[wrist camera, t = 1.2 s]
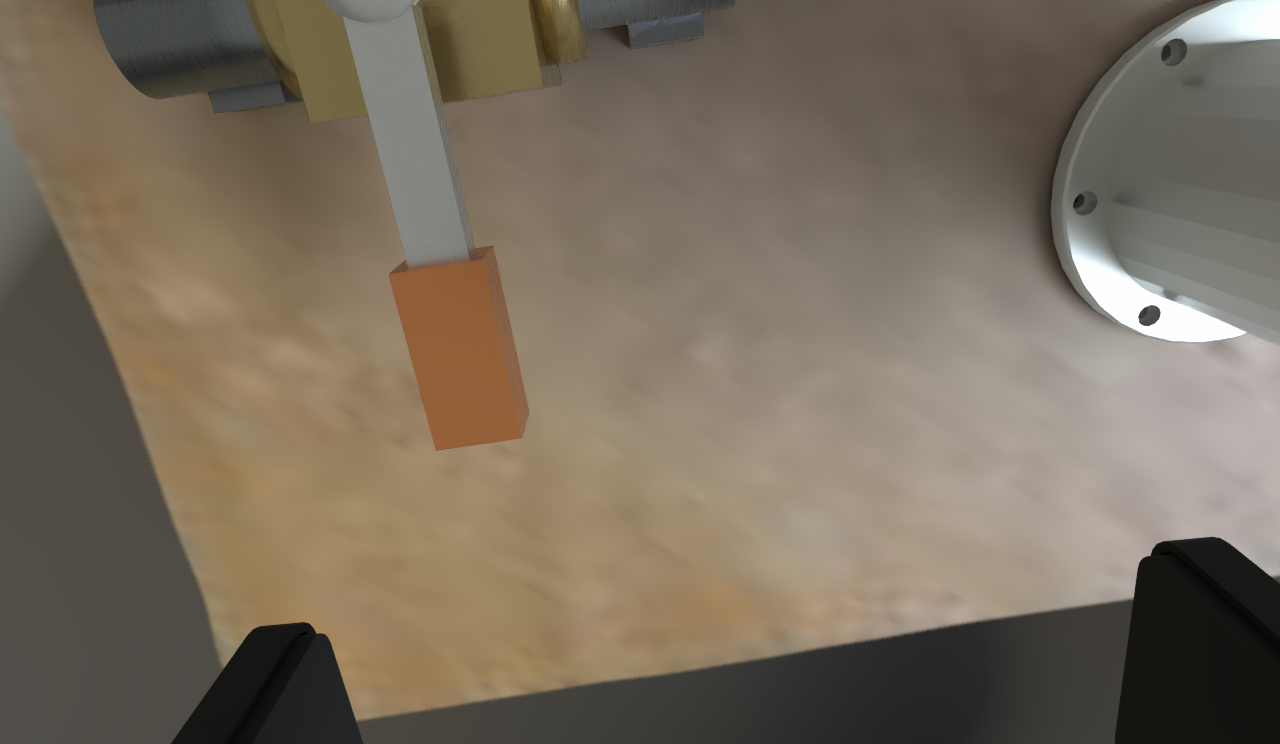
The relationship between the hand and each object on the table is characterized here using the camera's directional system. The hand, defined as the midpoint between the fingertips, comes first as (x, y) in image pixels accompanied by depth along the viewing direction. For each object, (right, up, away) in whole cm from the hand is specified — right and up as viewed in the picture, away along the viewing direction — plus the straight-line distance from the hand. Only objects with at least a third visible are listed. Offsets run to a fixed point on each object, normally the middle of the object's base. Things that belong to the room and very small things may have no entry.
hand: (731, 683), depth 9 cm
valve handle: (-7, +8, +11) cm, 16 cm away
